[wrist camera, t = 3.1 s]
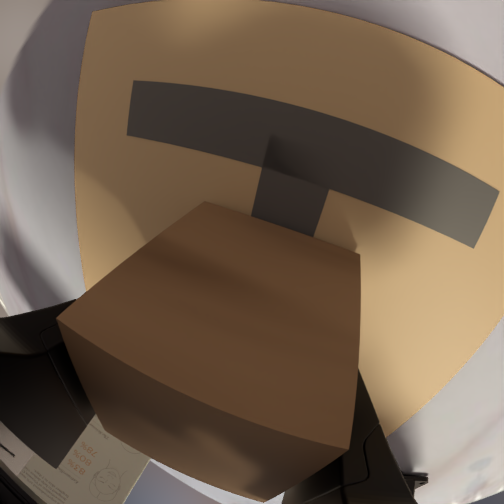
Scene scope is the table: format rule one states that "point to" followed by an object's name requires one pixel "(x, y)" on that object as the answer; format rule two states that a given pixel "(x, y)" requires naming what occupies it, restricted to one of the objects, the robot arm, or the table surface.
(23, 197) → the table surface
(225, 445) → the walnut block
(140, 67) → the letter card
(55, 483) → the small box
